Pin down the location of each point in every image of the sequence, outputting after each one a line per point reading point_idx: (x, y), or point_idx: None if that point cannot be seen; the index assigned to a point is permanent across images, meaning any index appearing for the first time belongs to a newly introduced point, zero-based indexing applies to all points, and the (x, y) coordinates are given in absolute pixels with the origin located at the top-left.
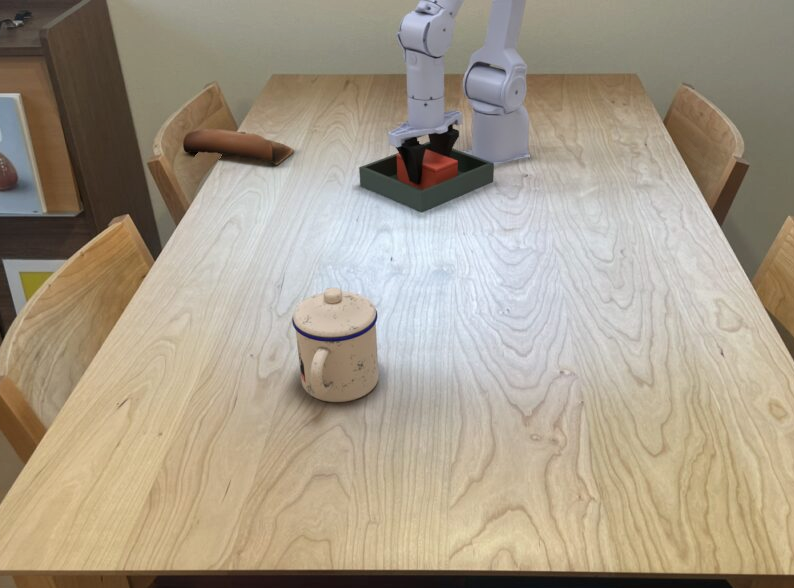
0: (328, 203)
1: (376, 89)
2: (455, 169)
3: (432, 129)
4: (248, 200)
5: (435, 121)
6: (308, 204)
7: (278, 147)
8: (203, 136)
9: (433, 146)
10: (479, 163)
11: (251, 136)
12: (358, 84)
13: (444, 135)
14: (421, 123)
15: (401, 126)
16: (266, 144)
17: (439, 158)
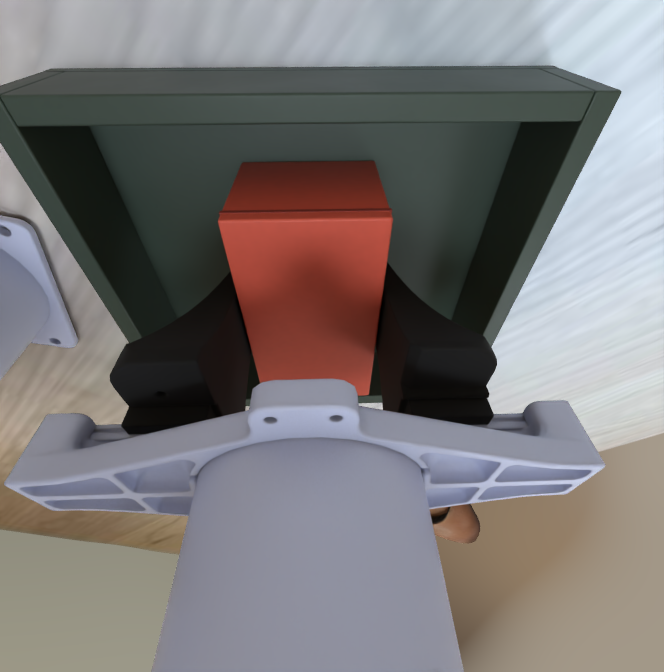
0: (562, 341)
1: (125, 528)
2: (243, 199)
3: (370, 433)
4: (598, 418)
5: (343, 490)
6: (583, 360)
7: None
8: (471, 533)
9: (245, 367)
10: (68, 189)
11: (446, 523)
12: (144, 538)
13: (214, 382)
14: (423, 500)
15: (438, 501)
16: (453, 506)
17: (278, 295)
